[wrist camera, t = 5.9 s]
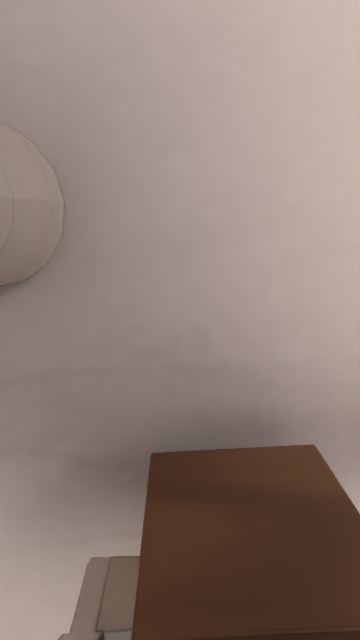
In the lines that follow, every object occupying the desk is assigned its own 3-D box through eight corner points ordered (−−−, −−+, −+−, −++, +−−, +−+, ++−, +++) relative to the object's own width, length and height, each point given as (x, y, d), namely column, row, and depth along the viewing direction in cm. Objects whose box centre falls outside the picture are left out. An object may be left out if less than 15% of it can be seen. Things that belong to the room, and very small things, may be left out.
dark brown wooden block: (160, 579, 11) (150, 831, 6) (150, 451, 9) (129, 646, 5) (307, 572, 11) (403, 817, 6) (314, 443, 9) (438, 629, 5)
